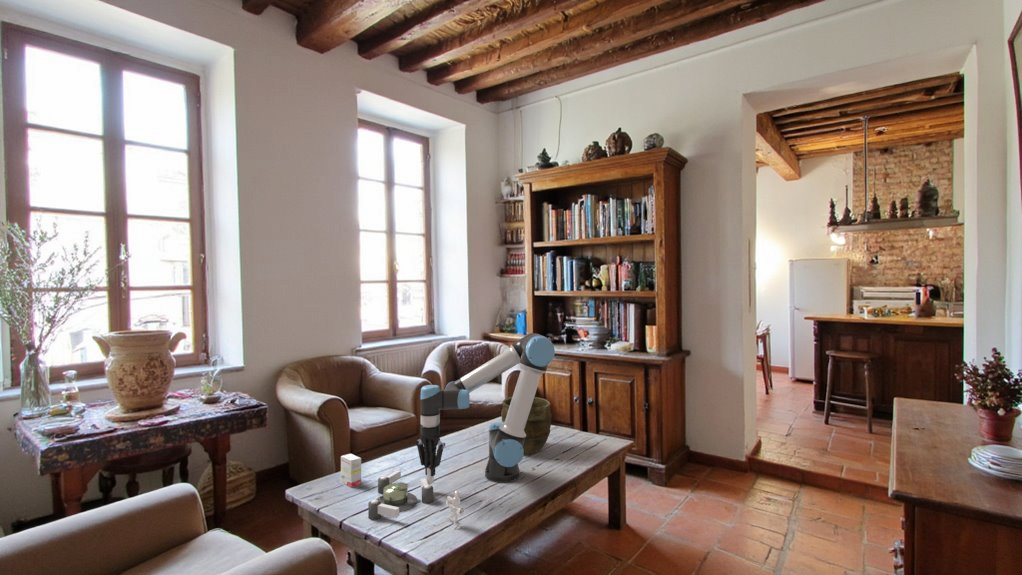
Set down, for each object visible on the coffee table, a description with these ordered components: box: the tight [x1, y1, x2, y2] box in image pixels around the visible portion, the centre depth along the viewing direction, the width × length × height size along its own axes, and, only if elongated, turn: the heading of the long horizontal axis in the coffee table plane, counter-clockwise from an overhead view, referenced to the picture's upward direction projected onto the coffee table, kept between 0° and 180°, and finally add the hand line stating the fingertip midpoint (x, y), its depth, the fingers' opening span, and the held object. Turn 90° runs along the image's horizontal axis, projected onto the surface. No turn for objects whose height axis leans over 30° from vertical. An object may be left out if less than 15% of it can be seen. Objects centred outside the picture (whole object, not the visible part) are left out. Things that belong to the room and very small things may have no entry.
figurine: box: [445, 490, 466, 530], centre depth 167 cm, size 5×9×12 cm, turn 57°
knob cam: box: [367, 499, 400, 521], centre depth 170 cm, size 12×4×6 cm, turn 66°
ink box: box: [340, 453, 362, 489], centre depth 201 cm, size 9×5×12 cm, turn 49°
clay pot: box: [500, 396, 553, 456], centre depth 241 cm, size 25×25×25 cm
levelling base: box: [375, 482, 421, 513], centre depth 180 cm, size 26×23×7 cm
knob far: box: [377, 470, 402, 495], centre depth 196 cm, size 12×4×6 cm, turn 156°
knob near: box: [420, 477, 434, 505], centre depth 188 cm, size 12×4×6 cm, turn 20°
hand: (430, 483), depth 192 cm, fingers closed
